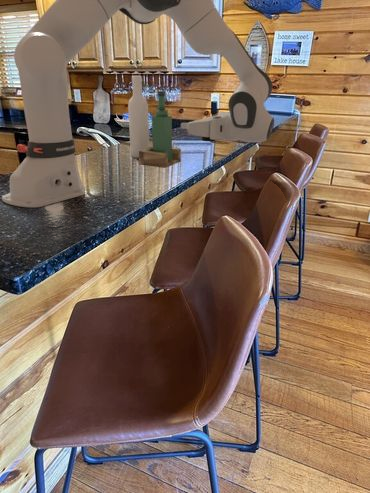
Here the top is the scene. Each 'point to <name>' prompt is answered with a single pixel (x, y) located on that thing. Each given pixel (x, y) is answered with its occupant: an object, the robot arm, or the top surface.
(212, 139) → the coffee mug
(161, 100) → the green bottle
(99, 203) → the top surface
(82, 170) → the top surface
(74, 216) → the top surface
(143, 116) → the bottle
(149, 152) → the oak rest
